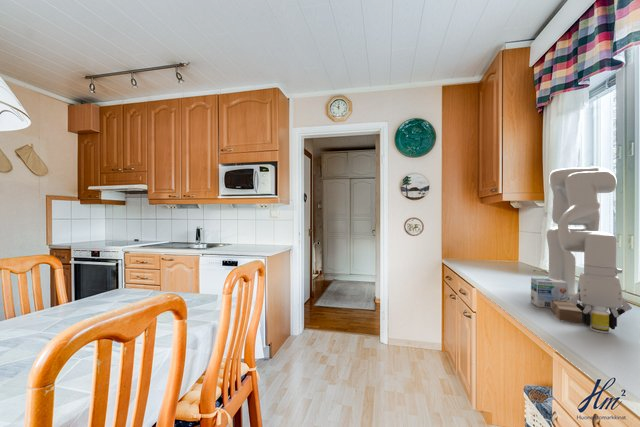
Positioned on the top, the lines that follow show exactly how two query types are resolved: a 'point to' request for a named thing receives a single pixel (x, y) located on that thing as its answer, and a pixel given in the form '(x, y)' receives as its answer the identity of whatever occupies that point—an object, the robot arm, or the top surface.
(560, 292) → the light bulb box
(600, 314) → the supplement bottle
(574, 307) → the walnut stand
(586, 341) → the top surface
